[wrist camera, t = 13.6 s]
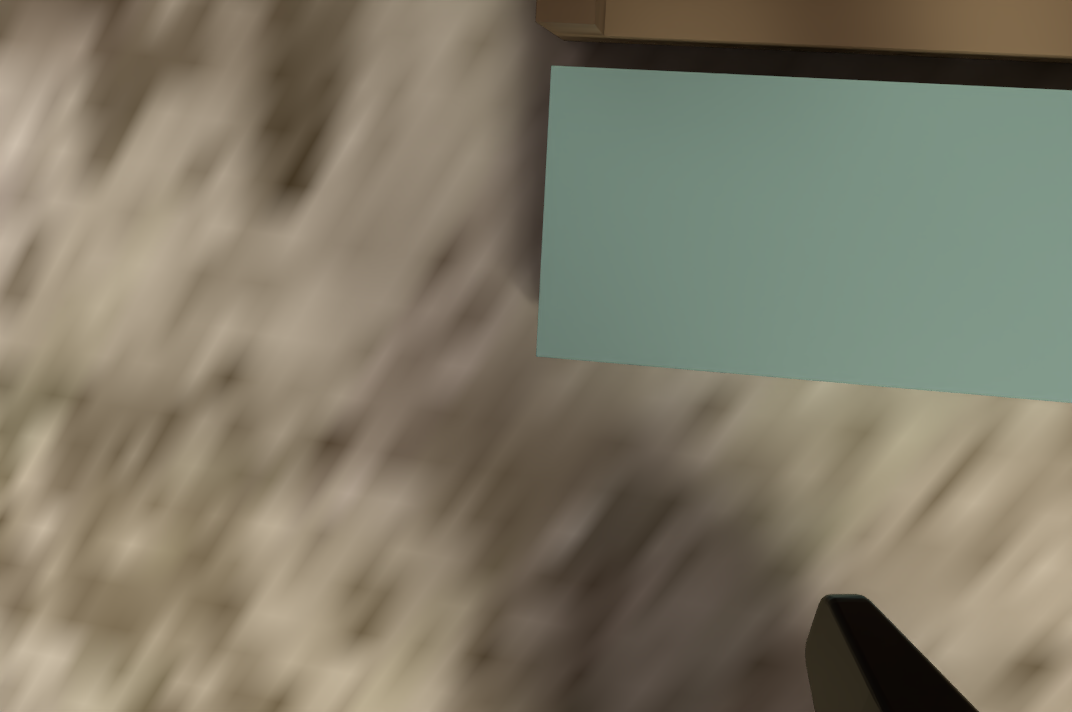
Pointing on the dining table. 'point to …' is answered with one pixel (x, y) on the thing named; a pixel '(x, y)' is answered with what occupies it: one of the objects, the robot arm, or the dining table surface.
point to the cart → (827, 25)
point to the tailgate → (810, 229)
